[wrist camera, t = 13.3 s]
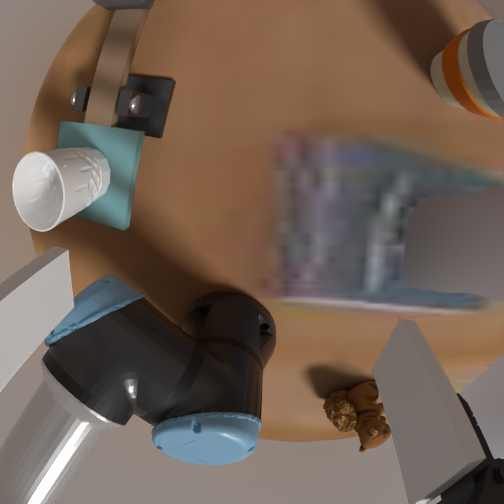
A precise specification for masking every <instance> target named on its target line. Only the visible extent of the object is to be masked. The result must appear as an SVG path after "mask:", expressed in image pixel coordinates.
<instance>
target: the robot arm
mask: <svg viewBox="0 0 504 504" xmlns="http://www.w3.org/2000/svg"><path fill="white" fill-rule="evenodd" d="M144 297H145V296H144V295H143V294H140V293H138V292H137V291H136V290H134V289H133V288H132V287H131V286H130V285H128V284H127V283H126V282H125V281H123V280H122V279H121V278H119V277H117V276H113V275H108V276H104V277H102V278H100V279H98V280H96V281H95V282H93V283H92V284H90V285H89V286H88V287H86V288H85V289H84V290H83V291H81V292H80V293H79V294H78V295H77V296H76V297H74V298H73V292H72V284H71V274H70V263H69V250H68V249H64V248H61V247H57V246H54V247H52V248H51V249H49V250H48V251H46V252H45V253H43V254H42V255H40V256H39V257H37V258H36V259H35V260H33V261H32V262H30V263H29V264H27V265H26V266H24V267H23V268H21V269H20V270H19V271H17V272H16V273H15V274H13V275H12V276H10V277H9V278H8V279H6V280H5V281H3V282H2V283H1V284H0V392H1V390H2V389H3V388H4V387H5V385H6V384H7V383H8V382H9V380H10V379H11V378H12V377H13V375H14V374H15V373H16V372H17V370H18V369H19V368H20V367H21V366H22V365H23V363H24V362H25V361H26V360H27V359H28V357H29V356H30V355H31V354H32V353H33V352H34V351H35V349H36V348H37V347H38V346H39V345H40V344H41V342H42V341H43V340H44V342H45V345H46V346H49V350H48V351H47V352H46V354H45V355H44V356H43V358H42V359H41V365H42V371H43V376H44V380H43V382H42V383H41V385H40V386H39V388H38V389H37V391H36V392H35V394H34V395H33V397H32V398H31V400H30V401H29V403H28V404H27V406H26V408H25V409H24V411H23V412H22V414H21V416H20V417H19V419H18V420H17V422H16V423H15V425H14V427H13V428H12V430H11V432H10V433H9V435H8V437H7V438H6V440H5V442H4V444H3V445H2V447H1V449H0V504H54V503H55V501H56V500H57V498H58V497H59V495H60V494H61V492H62V491H63V489H64V488H65V486H66V485H67V483H68V482H69V481H70V479H71V478H72V476H73V475H74V473H75V472H76V470H77V469H78V467H79V466H80V464H81V463H82V462H83V460H84V458H85V457H86V456H87V454H88V453H89V451H90V450H91V449H92V447H93V446H94V444H95V443H96V441H97V440H98V439H99V437H100V436H101V434H102V433H103V431H104V430H105V429H109V428H120V427H124V426H125V425H126V423H127V422H128V420H129V419H130V418H131V416H132V415H133V414H135V415H137V416H139V417H140V418H142V419H143V420H145V421H147V422H148V423H150V424H151V425H152V426H154V428H153V429H152V440H153V442H154V444H155V445H156V446H157V448H158V449H159V450H160V451H161V452H163V453H164V454H166V455H168V456H170V457H173V458H175V459H178V460H181V461H184V462H188V463H193V464H200V465H225V464H230V463H234V462H237V461H240V460H243V459H244V458H246V457H248V456H249V455H250V454H251V453H252V452H253V451H254V449H255V448H256V445H257V441H258V435H259V430H260V428H261V406H262V381H263V370H264V368H265V366H266V364H267V363H268V361H269V359H270V357H271V355H272V354H273V351H274V349H275V345H276V326H275V323H274V320H273V318H272V316H271V315H270V313H269V312H268V311H267V310H266V308H265V307H264V306H262V305H261V304H260V303H258V302H257V301H255V300H254V299H252V298H250V297H247V296H245V295H242V294H238V293H231V292H219V293H213V294H209V295H206V296H204V297H202V298H200V299H199V300H197V301H196V302H195V303H194V304H193V305H192V306H191V307H190V308H189V310H188V312H187V314H186V316H185V318H184V321H183V324H182V329H181V328H180V327H178V326H177V325H176V324H174V323H173V322H172V321H171V320H170V319H168V318H167V317H166V316H165V315H164V314H162V313H161V312H160V311H159V310H158V309H157V308H155V307H154V306H153V305H152V304H151V303H150V302H148V301H147V300H146V299H145V298H144ZM372 372H373V375H374V378H375V381H376V384H377V387H378V391H379V394H380V397H381V400H382V403H383V407H384V410H385V413H386V417H387V420H388V423H389V427H390V430H391V434H392V437H393V441H394V445H395V448H396V452H397V456H398V460H399V464H400V467H401V472H402V476H403V480H404V484H405V489H406V493H407V498H408V502H409V504H425V503H428V502H430V501H431V500H433V499H434V498H436V497H437V496H439V495H441V499H442V500H441V501H440V502H438V503H437V504H504V459H500V458H498V459H494V458H493V456H492V454H491V452H490V449H489V447H488V445H487V443H486V440H485V438H484V436H483V434H482V431H481V429H480V427H479V426H477V421H476V419H475V417H473V413H472V411H471V409H470V407H469V405H468V403H467V402H466V401H465V400H464V399H463V398H462V397H461V396H460V394H459V393H456V392H455V390H454V388H453V387H452V385H451V383H450V381H449V379H448V377H447V375H446V374H445V372H444V370H443V368H442V366H441V365H440V363H439V361H438V359H437V357H436V356H435V354H434V352H433V351H432V349H431V347H430V345H429V344H428V342H427V340H426V339H425V337H424V335H423V334H422V332H421V330H420V329H419V327H418V326H417V324H416V322H415V321H413V320H406V319H399V320H398V322H397V324H396V326H395V328H394V330H393V332H392V334H391V336H390V338H389V340H388V342H387V344H386V345H385V347H384V349H383V351H382V353H381V355H380V356H379V358H378V360H377V362H376V364H375V365H374V367H373V369H372Z"/></svg>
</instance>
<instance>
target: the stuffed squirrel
mask: <svg viewBox="0 0 504 504" xmlns="http://www.w3.org/2000/svg"><path fill="white" fill-rule="evenodd" d="M378 392H379V391H378V387H377V384H376V381H365V382H363V383H360V384H359V385H357V386H355V387H353V388H352V389H350V390H349V391H348V392H347V391H346V390H338V391H337V390H336V391H335V392H333V393H331V394H330V396H329V397H328V398H327V399H326V401H325V403H324V405H323V409H325V412H326V414H327V418H329V419H330V421H332V422H333V424H334V426H336V428H338V429H339V430H338V431H340V432H347V431H351V430H353V429H354V430H355V431H356V432H357V433H358V435H359V438H360V442H361V447H360V449H359V451H360V452H364V451H366V450H367V448H374V447H377V446H379V445H381V444H383V443H384V442H385V441H386V440H387V439H388V438H389V437H390V435H391V430H390V427H389V425H388V424H386V418H385V417H384V416H380V415H382V414H385V410H384V407H383V403H378V404H377V399H378V396H379V394H378Z"/></svg>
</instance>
